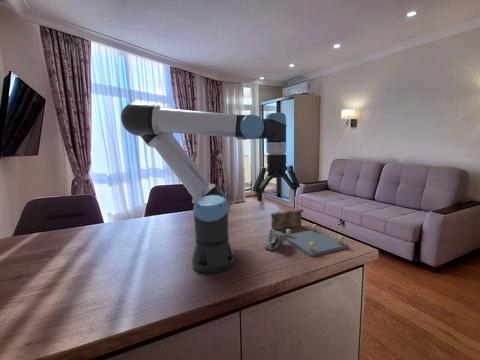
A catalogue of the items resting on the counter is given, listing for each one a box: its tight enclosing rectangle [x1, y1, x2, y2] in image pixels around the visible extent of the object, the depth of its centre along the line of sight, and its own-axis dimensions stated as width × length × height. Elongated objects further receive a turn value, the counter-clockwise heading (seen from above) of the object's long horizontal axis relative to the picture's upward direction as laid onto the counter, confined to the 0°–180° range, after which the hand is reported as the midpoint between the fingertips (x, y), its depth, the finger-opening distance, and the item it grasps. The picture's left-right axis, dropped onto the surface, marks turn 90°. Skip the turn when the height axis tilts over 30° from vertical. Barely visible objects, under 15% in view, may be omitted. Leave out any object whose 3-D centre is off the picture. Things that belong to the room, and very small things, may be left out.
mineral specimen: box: [264, 228, 289, 251], centre depth 101 cm, size 10×8×10 cm
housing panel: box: [270, 208, 304, 231], centre depth 121 cm, size 16×3×8 cm, turn 112°
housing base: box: [285, 223, 349, 258], centre depth 104 cm, size 18×20×4 cm
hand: (277, 207), depth 100 cm, fingers open, 13 cm apart
